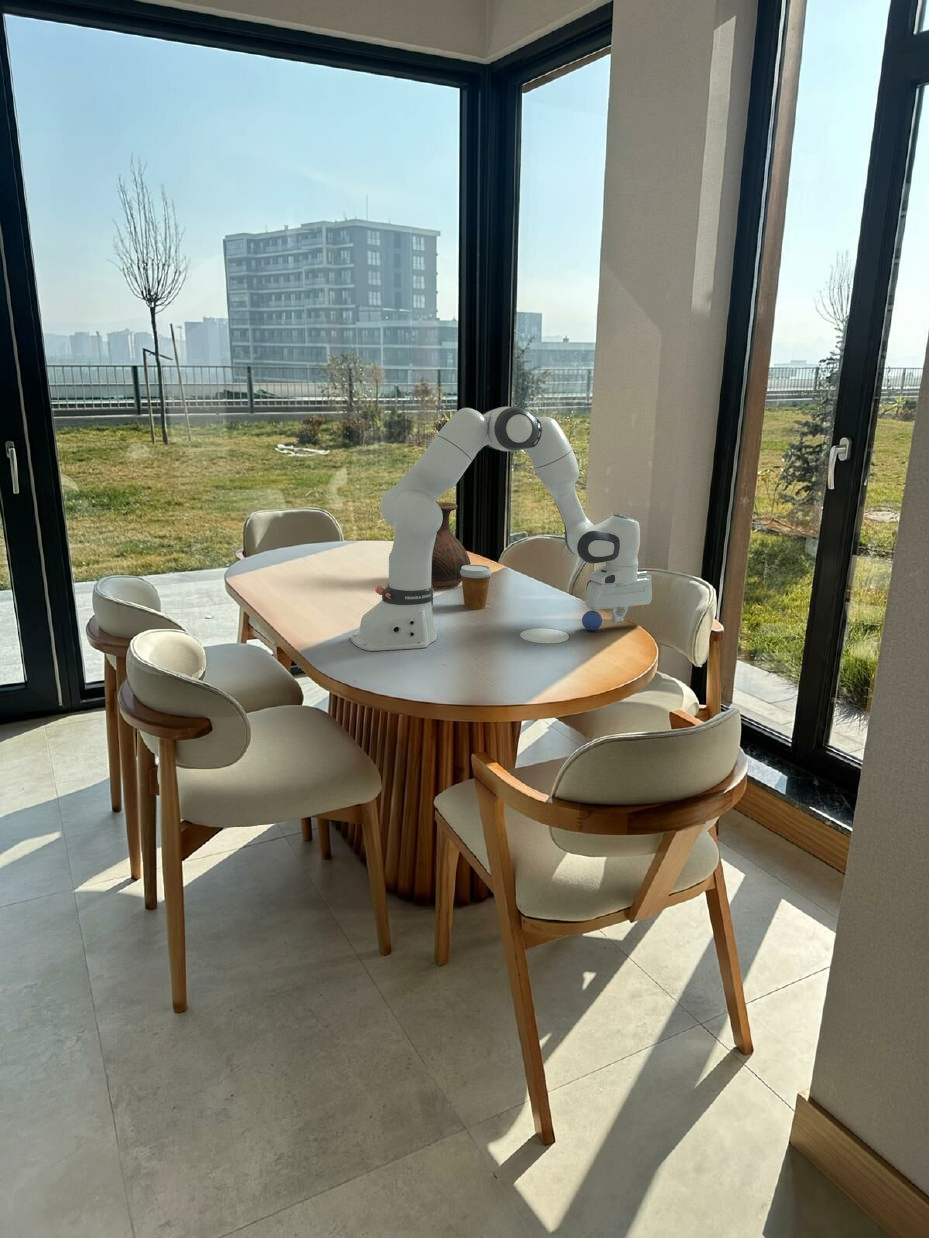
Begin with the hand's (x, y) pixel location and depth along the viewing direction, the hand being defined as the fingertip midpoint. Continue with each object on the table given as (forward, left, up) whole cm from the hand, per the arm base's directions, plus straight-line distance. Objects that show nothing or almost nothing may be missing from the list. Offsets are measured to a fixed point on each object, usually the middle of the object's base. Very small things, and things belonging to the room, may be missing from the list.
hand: (617, 621), depth 242 cm
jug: (-27, +64, -2) cm, 69 cm away
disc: (-24, 0, -1) cm, 24 cm away
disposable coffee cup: (-28, +34, -2) cm, 44 cm away
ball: (-9, 0, +1) cm, 9 cm away
